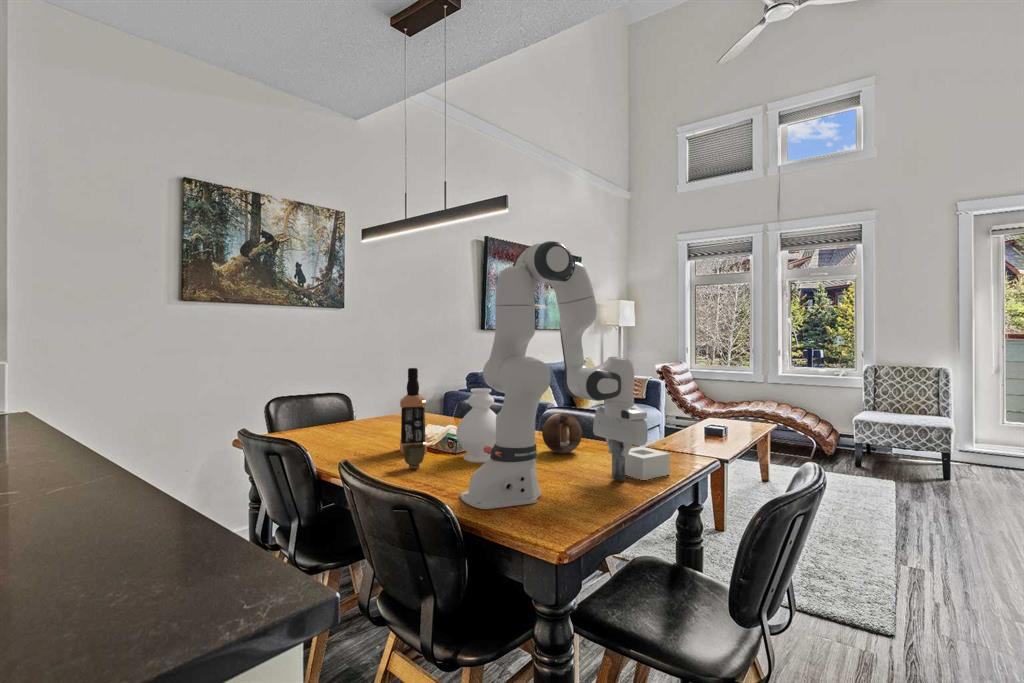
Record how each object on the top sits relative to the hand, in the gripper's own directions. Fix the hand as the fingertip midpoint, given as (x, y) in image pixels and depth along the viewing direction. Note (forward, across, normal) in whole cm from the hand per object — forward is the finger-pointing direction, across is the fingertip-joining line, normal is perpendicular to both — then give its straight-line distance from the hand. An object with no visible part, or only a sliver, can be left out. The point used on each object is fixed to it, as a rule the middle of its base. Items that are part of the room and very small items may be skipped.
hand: (618, 455), depth 158 cm
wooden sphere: (+8, -39, +8) cm, 41 cm away
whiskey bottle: (+9, -71, -38) cm, 81 cm away
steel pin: (+7, 0, 0) cm, 7 cm away
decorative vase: (+9, -48, -22) cm, 53 cm away
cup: (+9, -47, -48) cm, 67 cm away
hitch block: (+8, -2, +12) cm, 15 cm away
